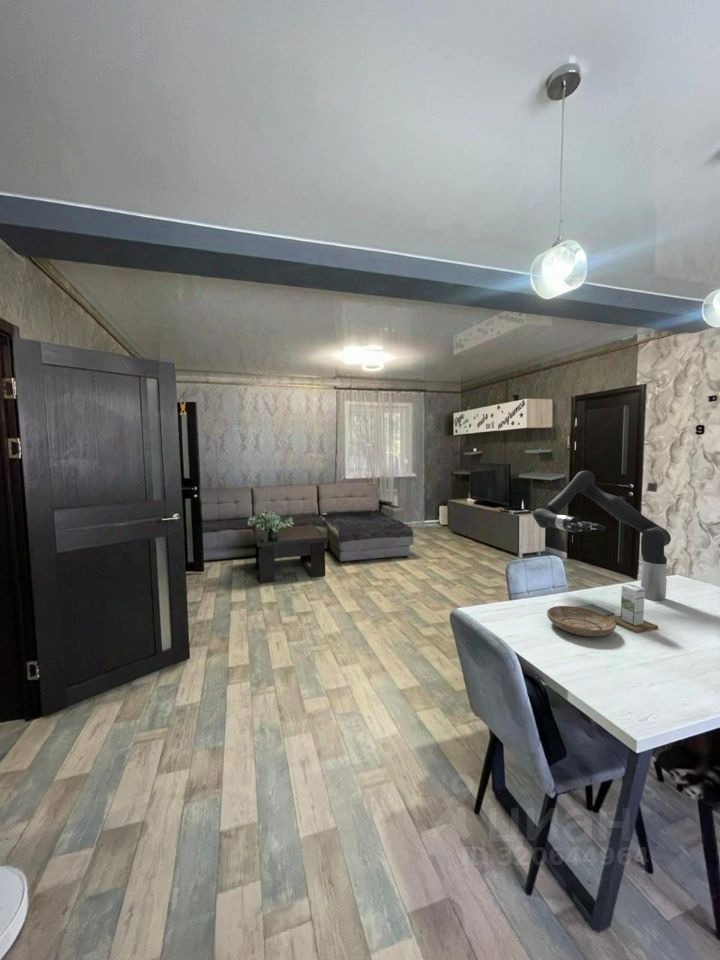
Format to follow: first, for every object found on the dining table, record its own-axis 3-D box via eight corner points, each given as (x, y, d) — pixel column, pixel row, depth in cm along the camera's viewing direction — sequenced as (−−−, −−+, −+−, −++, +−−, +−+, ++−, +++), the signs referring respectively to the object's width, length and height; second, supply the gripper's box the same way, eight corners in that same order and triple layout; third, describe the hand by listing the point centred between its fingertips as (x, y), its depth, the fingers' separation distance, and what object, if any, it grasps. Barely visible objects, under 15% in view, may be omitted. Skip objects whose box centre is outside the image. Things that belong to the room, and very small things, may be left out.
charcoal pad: (591, 605, 175) (591, 603, 175) (614, 615, 165) (615, 613, 165) (573, 608, 172) (573, 606, 172) (595, 619, 162) (595, 616, 161)
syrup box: (644, 623, 155) (645, 587, 154) (633, 625, 153) (635, 589, 152) (629, 617, 160) (631, 583, 159) (619, 620, 158) (621, 585, 157)
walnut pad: (628, 616, 164) (628, 614, 164) (658, 628, 153) (658, 625, 153) (607, 620, 160) (607, 617, 160) (636, 633, 149) (636, 630, 149)
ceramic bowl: (627, 646, 139) (627, 632, 139) (556, 639, 144) (556, 626, 144) (601, 619, 162) (601, 607, 162) (540, 614, 167) (540, 602, 166)
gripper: (578, 529, 195) (608, 536, 180) (556, 531, 190) (585, 538, 175) (579, 514, 194) (609, 520, 179) (556, 516, 190) (585, 522, 174)
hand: (597, 529), depth 177 cm, fingers open, 8 cm apart
